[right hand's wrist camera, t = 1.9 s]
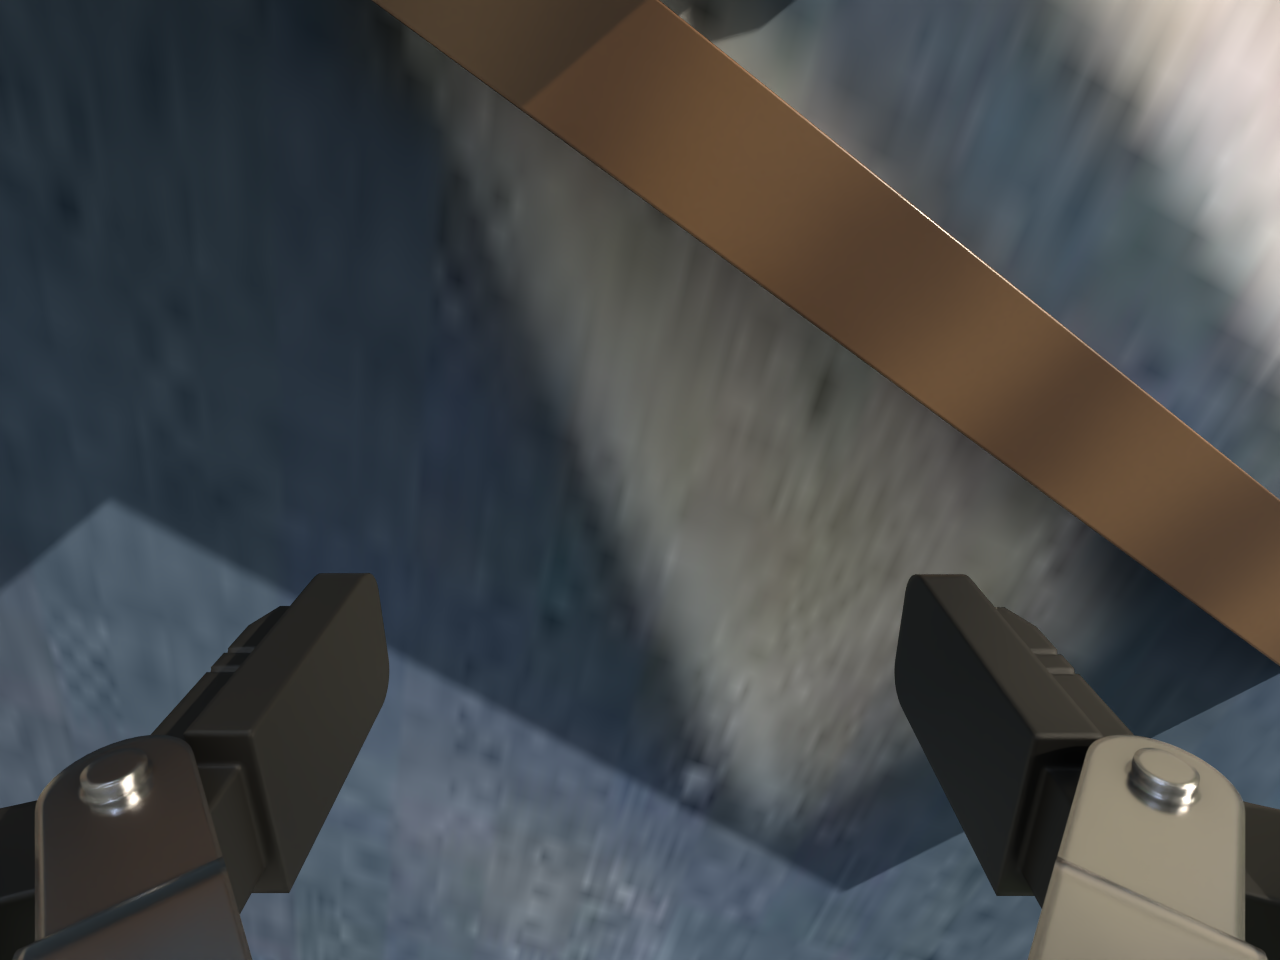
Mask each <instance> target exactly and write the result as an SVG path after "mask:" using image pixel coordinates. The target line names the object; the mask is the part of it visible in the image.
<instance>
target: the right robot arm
mask: <svg viewBox="0 0 1280 960" xmlns="http://www.w3.org/2000/svg"><path fill="white" fill-rule="evenodd" d="M388 682H389V659H388V652H387V645H386V638H385V631H384V625H383V618H382V611H381V604H380V598H379V591H378V586H377V582H376V580H375V578H374V576H373V575H372V574H370V573H320V574H318V575H316V576H315V577H314V578H313V579H312V580H311V582H310V583H309V584H308V585H307V586H306V588H305V589H304V590H303V591H302V592H301V594H300V595H299V596H298V597H297V598H296V600H295V601H294V602H293V603H292V604H291V605H290V606H279V607H278V608H276V609H275V610H273V611H271V612H270V613H268V614H266V615H265V616H263V617H262V618H260V619H258V620H257V621H255V622H253V623H252V624H250V625H249V626H248V627H247V628H246V629H245V630H244V631H243V632H242V633H241V634H240V636H239V637H238V638H237V639H236V640H235V641H234V642H233V643H232V645H231V646H230V647H229V648H228V653H223V655H222V656H221V657H220V658H219V659H218V660H217V661H216V662H215V664H214V665H213V666H212V667H211V672H206V674H205V675H204V676H203V677H202V678H201V679H200V680H199V681H198V683H197V684H196V685H195V686H194V687H193V688H192V689H191V690H190V691H189V693H188V694H187V695H186V696H185V697H184V698H183V699H182V700H181V701H180V703H179V704H178V705H177V706H176V707H175V708H174V709H173V710H172V712H171V713H170V714H169V715H168V716H167V717H166V718H165V719H164V720H163V722H162V723H161V724H160V725H159V726H158V727H157V728H156V729H155V731H154V732H153V733H152V734H151V735H147V736H139V737H134V738H130V739H125V740H122V741H119V742H116V743H113V744H110V745H107V746H105V747H102V748H100V749H98V750H96V751H94V752H92V753H90V754H87V755H86V756H84V757H82V758H81V759H79V760H77V761H75V762H74V763H72V764H71V765H70V766H68V767H67V768H65V769H64V770H63V771H62V772H60V773H59V774H58V775H57V776H56V777H54V778H53V780H52V781H51V782H50V783H49V784H48V785H47V786H46V787H45V789H44V790H43V791H42V793H41V794H40V796H39V798H38V800H37V801H32V802H28V803H23V804H18V805H14V806H9V807H5V808H0V960H252V957H251V953H250V950H249V946H248V943H247V939H246V936H245V932H244V929H243V925H242V922H241V918H240V913H241V911H242V909H243V908H244V906H245V904H246V902H247V900H248V898H249V897H250V895H251V893H289V892H290V890H291V888H292V886H293V884H294V882H295V880H296V878H297V876H298V874H299V872H300V870H301V868H302V866H303V864H304V862H305V860H306V858H307V856H308V854H309V852H310V850H311V848H312V846H313V844H314V842H315V840H316V838H317V836H318V834H319V832H320V830H321V828H322V826H323V824H324V822H325V820H326V818H327V816H328V814H329V812H330V810H331V808H332V806H333V804H334V802H335V800H336V798H337V796H338V794H339V792H340V790H341V788H342V786H343V784H344V782H345V780H346V778H347V776H348V774H349V772H350V770H351V768H352V766H353V764H354V762H355V760H356V758H357V756H358V754H359V751H360V749H361V747H362V745H363V743H364V741H365V739H366V737H367V735H368V733H369V731H370V729H371V727H372V725H373V723H374V721H375V719H376V717H377V715H378V713H379V711H380V709H381V707H382V705H383V703H384V700H385V697H386V693H387V689H388ZM895 685H896V691H897V695H898V699H899V702H900V705H901V707H902V709H903V711H904V713H905V715H906V717H907V719H908V721H909V723H910V725H911V727H912V729H913V731H914V733H915V735H916V737H917V739H918V741H919V743H920V745H921V747H922V749H923V751H924V753H925V755H926V757H927V759H928V761H929V763H930V764H931V766H932V768H933V770H934V772H935V774H936V776H937V778H938V780H939V782H940V784H941V786H942V788H943V790H944V792H945V794H946V796H947V798H948V800H949V802H950V804H951V806H952V808H953V810H954V812H955V814H956V816H957V818H958V820H959V822H960V824H961V826H962V828H963V830H964V832H965V834H966V836H967V838H968V840H969V842H970V844H971V846H972V848H973V850H974V852H975V854H976V856H977V858H978V860H979V862H980V864H981V866H982V868H983V870H984V872H985V874H986V876H987V878H988V880H989V882H990V884H991V886H992V887H993V889H994V891H995V893H996V895H997V896H1035V897H1036V899H1037V901H1038V903H1039V905H1040V906H1041V908H1042V911H1041V914H1040V918H1039V922H1038V925H1037V929H1036V932H1035V936H1034V939H1033V943H1032V946H1031V950H1030V953H1029V957H1028V960H1280V810H1279V809H1274V808H1270V807H1265V806H1261V805H1256V804H1252V803H1248V802H1244V801H1243V800H1242V798H1241V796H1240V794H1239V793H1238V791H1237V790H1236V789H1235V787H1234V786H1233V785H1232V784H1231V783H1230V782H1229V781H1228V780H1227V778H1226V777H1224V776H1223V775H1222V774H1221V773H1220V772H1218V771H1217V770H1216V769H1215V768H1213V767H1212V766H1210V765H1209V764H1208V763H1206V762H1205V761H1203V760H1201V759H1199V758H1198V757H1196V756H1194V755H1193V754H1190V753H1188V752H1186V751H1184V750H1182V749H1180V748H1178V747H1175V746H1173V745H1170V744H1167V743H1164V742H1161V741H1158V740H1155V739H1150V738H1146V737H1141V736H1134V735H1133V733H1132V732H1131V731H1130V730H1129V729H1128V728H1127V727H1126V726H1125V725H1124V723H1123V722H1122V721H1121V720H1120V719H1119V718H1118V717H1117V716H1116V715H1115V713H1114V712H1113V711H1112V710H1111V709H1110V708H1109V707H1108V706H1107V705H1106V704H1105V702H1104V701H1103V700H1102V699H1101V698H1100V697H1099V696H1098V695H1097V694H1096V692H1095V691H1094V690H1093V689H1092V688H1091V687H1090V686H1089V685H1088V684H1087V682H1086V681H1085V680H1084V679H1083V678H1082V677H1081V676H1080V675H1079V674H1075V672H1074V668H1073V667H1072V666H1071V665H1070V664H1069V663H1068V661H1067V660H1066V659H1065V658H1064V657H1063V656H1062V655H1058V654H1057V649H1056V648H1055V647H1054V646H1053V645H1052V644H1051V643H1050V642H1049V640H1048V639H1047V638H1046V637H1045V636H1044V635H1043V634H1042V633H1041V632H1040V630H1039V629H1038V628H1037V627H1036V626H1034V625H1032V624H1031V623H1029V622H1027V621H1026V620H1024V619H1023V618H1021V617H1019V616H1018V615H1016V614H1014V613H1013V612H1011V611H1009V610H1008V609H1006V608H1005V607H994V606H993V605H992V604H991V602H990V601H989V600H988V599H987V598H986V596H985V595H984V594H983V593H982V592H981V591H980V589H979V588H978V587H977V586H976V585H975V583H974V582H973V581H972V580H971V579H970V578H969V577H968V576H966V575H963V574H915V575H913V576H911V578H910V579H909V581H908V584H907V587H906V592H905V599H904V605H903V612H902V619H901V625H900V632H899V639H898V646H897V652H896V659H895Z"/></svg>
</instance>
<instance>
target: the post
mask: <svg viewBox="0 0 1280 960" xmlns="http://www.w3.org/2000/svg"><path fill="white" fill-rule="evenodd" d="M372 1H373V2H375V3H376V4H377V5H379V6H380V7H381V8H383V9H384V10H386V11H387V12H388V13H390V14H391V15H392V16H394V17H395V18H396V19H398V20H399V21H401V22H402V23H403V24H405V25H406V26H407V27H409V28H410V29H411V30H413V31H414V32H416V33H417V34H418V35H420V36H421V37H422V38H424V39H425V40H426V41H428V42H429V43H431V44H432V45H433V46H435V47H436V48H437V49H439V50H440V51H441V52H443V53H444V54H446V55H447V56H448V57H450V58H451V59H452V60H454V61H455V62H456V63H458V64H459V65H461V66H462V67H463V68H465V69H466V70H467V71H469V72H470V73H471V74H473V75H474V76H476V77H477V78H478V79H480V80H481V81H482V82H484V83H485V84H486V85H488V86H489V87H491V88H492V89H493V90H495V91H496V92H497V93H499V94H500V95H501V96H503V97H504V98H506V99H507V100H508V101H510V102H511V103H512V104H514V105H515V106H516V107H518V108H519V109H521V110H522V111H523V112H525V113H526V114H527V115H529V116H530V117H531V118H533V119H534V120H536V121H537V122H538V123H540V124H541V125H542V126H544V127H545V128H546V129H548V130H549V131H551V132H552V133H553V134H555V135H556V136H557V137H559V138H560V139H561V140H563V141H564V142H566V143H567V144H568V145H570V146H571V147H572V148H574V149H575V150H576V151H578V152H579V153H581V154H582V155H583V156H585V157H586V158H587V159H589V160H590V161H591V162H593V163H594V164H596V165H597V166H598V167H600V168H601V169H602V170H604V171H605V172H606V173H608V174H609V175H611V176H612V177H613V178H615V179H616V180H617V181H619V182H620V183H621V184H623V185H624V186H626V187H627V188H628V189H630V190H631V191H632V192H634V193H635V194H636V195H638V196H639V197H641V198H642V199H643V200H645V201H646V202H647V203H649V204H650V205H651V206H653V207H654V208H656V209H657V210H658V211H660V212H661V213H662V214H664V215H665V216H666V217H668V218H669V219H671V220H672V221H673V222H675V223H676V224H677V225H679V226H680V227H681V228H683V229H684V230H686V231H687V232H688V233H690V234H691V235H692V236H694V237H695V238H696V239H698V240H699V241H701V242H702V243H703V244H705V245H706V246H707V247H709V248H710V249H711V250H713V251H714V252H716V253H717V254H718V255H720V256H721V257H722V258H724V259H725V260H726V261H728V262H729V263H731V264H732V265H733V266H735V267H736V268H737V269H739V270H740V271H741V272H743V273H744V274H746V275H747V276H748V277H750V278H751V279H752V280H754V281H755V282H756V283H758V284H759V285H761V286H762V287H763V288H765V289H766V290H767V291H769V292H770V293H771V294H773V295H774V296H776V297H777V298H778V299H780V300H781V301H782V302H784V303H785V304H786V305H788V306H789V307H791V308H792V309H793V310H795V311H796V312H797V313H799V314H800V315H801V316H803V317H804V318H806V319H807V320H808V321H810V322H811V323H812V324H814V325H815V326H816V327H818V328H819V329H821V330H822V331H823V332H825V333H826V334H827V335H829V336H830V337H831V338H833V339H834V340H835V341H837V342H838V343H840V344H841V345H842V346H844V347H845V348H846V349H848V350H849V351H850V352H852V353H853V354H855V355H856V356H857V357H859V358H860V359H861V360H863V361H864V362H865V363H867V364H868V365H870V366H871V367H872V368H874V369H875V370H876V371H878V372H879V373H880V374H882V375H883V376H885V377H886V378H887V379H889V380H890V381H891V382H893V383H894V384H895V385H897V386H898V387H900V388H901V389H902V390H904V391H905V392H906V393H908V394H909V395H910V396H912V397H913V398H915V399H916V400H917V401H919V402H920V403H921V404H923V405H924V406H925V407H927V408H928V409H930V410H931V411H932V412H934V413H935V414H936V415H938V416H939V417H940V418H942V419H943V420H945V421H946V422H947V423H949V424H950V425H951V426H953V427H954V428H955V429H957V430H958V431H960V432H961V433H962V434H964V435H965V436H966V437H968V438H969V439H970V440H972V441H973V442H975V443H976V444H977V445H979V446H980V447H981V448H983V449H984V450H985V451H987V452H988V453H990V454H991V455H992V456H994V457H995V458H996V459H998V460H999V461H1000V462H1002V463H1003V464H1005V465H1006V466H1007V467H1009V468H1010V469H1011V470H1013V471H1014V472H1015V473H1017V474H1018V475H1020V476H1021V477H1022V478H1024V479H1025V480H1026V481H1028V482H1029V483H1030V484H1032V485H1033V486H1035V487H1036V488H1037V489H1039V490H1040V491H1041V492H1043V493H1044V494H1045V495H1047V496H1048V497H1050V498H1051V499H1052V500H1054V501H1055V502H1056V503H1058V504H1059V505H1060V506H1062V507H1063V508H1065V509H1066V510H1067V511H1069V512H1070V513H1071V514H1073V515H1074V516H1075V517H1077V518H1078V519H1080V520H1081V521H1082V522H1084V523H1085V524H1086V525H1088V526H1089V527H1090V528H1092V529H1093V530H1095V531H1096V532H1097V533H1099V534H1100V535H1101V536H1103V537H1104V538H1105V539H1107V540H1108V541H1110V542H1111V543H1112V544H1114V545H1115V546H1116V547H1118V548H1119V549H1120V550H1122V551H1123V552H1125V553H1126V554H1127V555H1129V556H1130V557H1131V558H1133V559H1134V560H1135V561H1137V562H1138V563H1140V564H1141V565H1142V566H1144V567H1145V568H1146V569H1148V570H1149V571H1150V572H1152V573H1153V574H1155V575H1156V576H1157V577H1159V578H1160V579H1161V580H1163V581H1164V582H1165V583H1167V584H1168V585H1170V586H1171V587H1172V588H1174V589H1175V590H1176V591H1178V592H1179V593H1180V594H1182V595H1183V596H1185V597H1186V598H1187V599H1189V600H1190V601H1191V602H1193V603H1194V604H1195V605H1197V606H1198V607H1200V608H1201V609H1202V610H1204V611H1205V612H1206V613H1208V614H1209V615H1210V616H1212V617H1213V618H1215V619H1216V620H1217V621H1219V622H1220V623H1221V624H1223V625H1224V626H1225V627H1227V628H1228V629H1230V630H1231V631H1232V632H1234V633H1235V634H1236V635H1238V636H1239V637H1240V638H1242V639H1243V640H1245V641H1246V642H1247V643H1249V644H1250V645H1251V646H1253V647H1254V648H1255V649H1257V650H1258V651H1260V652H1261V653H1262V654H1264V655H1265V656H1266V657H1268V658H1269V659H1270V660H1272V661H1273V662H1275V663H1276V664H1277V665H1279V666H1280V500H1279V499H1278V498H1277V497H1276V496H1274V495H1273V494H1272V493H1271V492H1269V491H1268V490H1267V489H1266V488H1264V487H1263V486H1262V485H1261V484H1259V483H1258V482H1257V481H1256V480H1254V479H1253V478H1252V477H1251V476H1249V475H1248V474H1247V473H1246V472H1245V471H1243V470H1242V469H1241V468H1240V467H1238V466H1237V465H1236V464H1235V463H1233V462H1232V461H1231V460H1230V459H1228V458H1227V457H1226V456H1225V455H1223V454H1222V453H1221V452H1220V451H1218V450H1217V449H1216V448H1215V447H1213V446H1212V445H1211V444H1210V443H1208V442H1207V441H1206V440H1205V439H1204V438H1202V437H1201V436H1200V435H1199V434H1197V433H1196V432H1195V431H1194V430H1192V429H1191V428H1190V427H1189V426H1187V425H1186V424H1185V423H1184V422H1182V421H1181V420H1180V419H1179V418H1177V417H1176V416H1175V415H1174V414H1172V413H1171V412H1170V411H1169V410H1167V409H1166V408H1165V407H1164V406H1163V405H1161V404H1160V403H1159V402H1158V401H1156V400H1155V399H1154V398H1153V397H1151V396H1150V395H1149V394H1148V393H1146V392H1145V391H1144V390H1143V389H1141V388H1140V387H1139V386H1138V385H1136V384H1135V383H1134V382H1133V381H1131V380H1130V379H1129V378H1128V377H1126V376H1125V375H1124V374H1123V373H1122V372H1120V371H1119V370H1118V369H1117V368H1115V367H1114V366H1113V365H1112V364H1110V363H1109V362H1108V361H1107V360H1105V359H1104V358H1103V357H1102V356H1100V355H1099V354H1098V353H1097V352H1095V351H1094V350H1093V349H1092V348H1090V347H1089V346H1088V345H1087V344H1085V343H1084V342H1083V341H1082V340H1081V339H1079V338H1078V337H1077V336H1076V335H1074V334H1073V333H1072V332H1071V331H1069V330H1068V329H1067V328H1066V327H1064V326H1063V325H1062V324H1061V323H1059V322H1058V321H1057V320H1056V319H1054V318H1053V317H1052V316H1051V315H1049V314H1048V313H1047V312H1046V311H1044V310H1043V309H1042V308H1041V307H1040V306H1038V305H1037V304H1036V303H1035V302H1033V301H1032V300H1031V299H1030V298H1028V297H1027V296H1026V295H1025V294H1023V293H1022V292H1021V291H1020V290H1018V289H1017V288H1016V287H1015V286H1013V285H1012V284H1011V283H1010V282H1008V281H1007V280H1006V279H1005V278H1003V277H1002V276H1001V275H1000V274H999V273H997V272H996V271H995V270H994V269H992V268H991V267H990V266H989V265H987V264H986V263H985V262H984V261H982V260H981V259H980V258H979V257H977V256H976V255H975V254H974V253H972V252H971V251H970V250H969V249H967V248H966V247H965V246H964V245H962V244H961V243H960V242H959V241H958V240H956V239H955V238H954V237H953V236H951V235H950V234H949V233H948V232H946V231H945V230H944V229H943V228H941V227H940V226H939V225H938V224H936V223H935V222H934V221H933V220H931V219H930V218H929V217H928V216H926V215H925V214H924V213H923V212H921V211H920V210H919V209H918V208H917V207H915V206H914V205H913V204H912V203H910V202H909V201H908V200H907V199H905V198H904V197H903V196H902V195H900V194H899V193H898V192H897V191H895V190H894V189H893V188H892V187H890V186H889V185H888V184H887V183H885V182H884V181H883V180H882V179H880V178H879V177H878V176H877V175H876V174H874V173H873V172H872V171H871V170H869V169H868V168H867V167H866V166H864V165H863V164H862V163H861V162H859V161H858V160H857V159H856V158H854V157H853V156H852V155H851V154H849V153H848V152H847V151H846V150H844V149H843V148H842V147H841V146H839V145H838V144H837V143H836V142H835V141H833V140H832V139H831V138H830V137H828V136H827V135H826V134H825V133H823V132H822V131H821V130H820V129H818V128H817V127H816V126H815V125H813V124H812V123H811V122H810V121H808V120H807V119H806V118H805V117H803V116H802V115H801V114H800V113H798V112H797V111H796V110H795V109H794V108H792V107H791V106H790V105H789V104H787V103H786V102H785V101H784V100H782V99H781V98H780V97H779V96H777V95H776V94H775V93H774V92H772V91H771V90H770V89H769V88H767V87H766V86H765V85H764V84H762V83H761V82H760V81H759V80H757V79H756V78H755V77H754V76H753V75H751V74H750V73H749V72H748V71H746V70H745V69H744V68H743V67H741V66H740V65H739V64H738V63H736V62H735V61H734V60H733V59H731V58H730V57H729V56H728V55H726V54H725V53H724V52H723V51H721V50H720V49H719V48H718V47H716V46H715V45H714V44H713V43H712V42H710V41H709V40H708V39H707V38H705V37H704V36H703V35H702V34H700V33H699V32H698V31H697V30H695V29H694V28H693V27H692V26H690V25H689V24H688V23H687V22H685V21H684V20H683V19H682V18H680V17H679V16H678V15H677V14H675V13H674V12H673V11H672V10H671V9H669V8H668V7H667V6H666V5H664V4H663V3H662V2H661V1H659V0H372Z"/></svg>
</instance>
